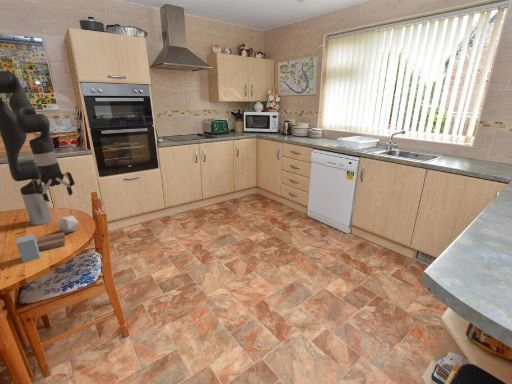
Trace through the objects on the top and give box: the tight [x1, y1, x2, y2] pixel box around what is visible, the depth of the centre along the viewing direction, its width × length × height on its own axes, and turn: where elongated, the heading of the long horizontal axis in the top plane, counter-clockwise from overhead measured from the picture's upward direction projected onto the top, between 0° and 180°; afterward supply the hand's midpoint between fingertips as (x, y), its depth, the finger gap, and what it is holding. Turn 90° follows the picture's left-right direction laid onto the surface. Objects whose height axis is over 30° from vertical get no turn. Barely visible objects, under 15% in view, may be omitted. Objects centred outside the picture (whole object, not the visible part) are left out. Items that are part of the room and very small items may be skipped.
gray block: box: [16, 233, 41, 263], centre depth 114 cm, size 6×6×9 cm
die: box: [57, 215, 79, 235], centre depth 136 cm, size 8×9×10 cm
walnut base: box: [36, 231, 66, 253], centre depth 125 cm, size 10×10×3 cm
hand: (59, 198), depth 121 cm, fingers open, 8 cm apart
